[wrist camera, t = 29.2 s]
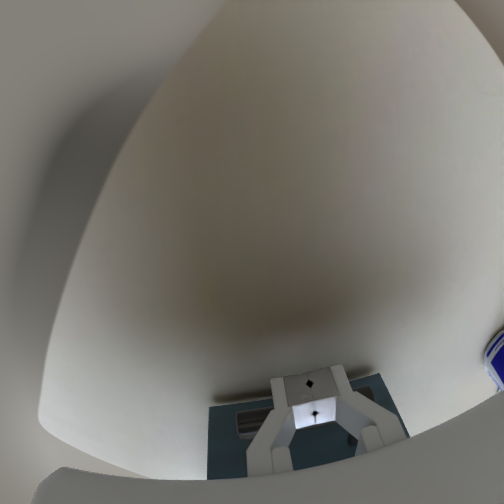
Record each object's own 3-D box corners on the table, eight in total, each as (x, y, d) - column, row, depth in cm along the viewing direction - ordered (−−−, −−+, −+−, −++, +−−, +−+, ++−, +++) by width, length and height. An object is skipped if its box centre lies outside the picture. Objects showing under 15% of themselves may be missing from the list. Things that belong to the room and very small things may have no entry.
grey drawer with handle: (185, 355, 15) (170, 474, 9) (387, 315, 15) (450, 414, 9) (246, 477, 23) (251, 539, 17) (360, 454, 23) (379, 513, 16)
